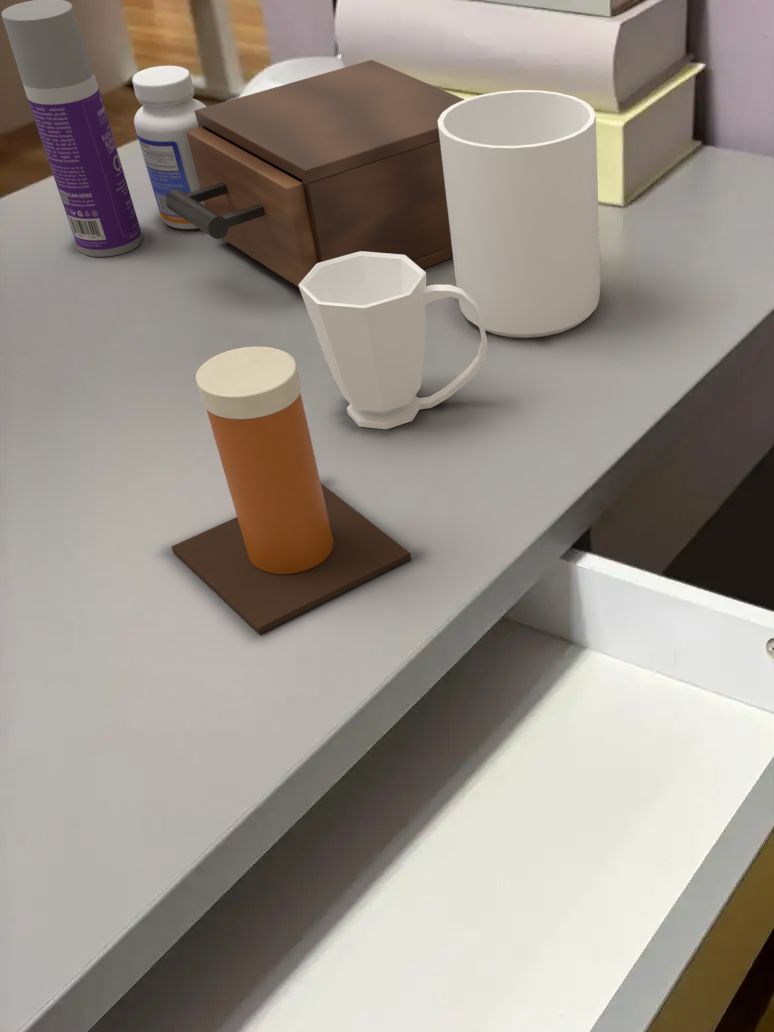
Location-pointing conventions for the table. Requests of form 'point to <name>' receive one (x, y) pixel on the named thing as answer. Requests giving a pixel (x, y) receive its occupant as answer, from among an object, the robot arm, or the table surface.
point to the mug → (523, 209)
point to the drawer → (248, 205)
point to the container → (73, 125)
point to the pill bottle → (167, 133)
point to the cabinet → (354, 156)
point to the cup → (379, 333)
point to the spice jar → (267, 457)
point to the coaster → (288, 595)
